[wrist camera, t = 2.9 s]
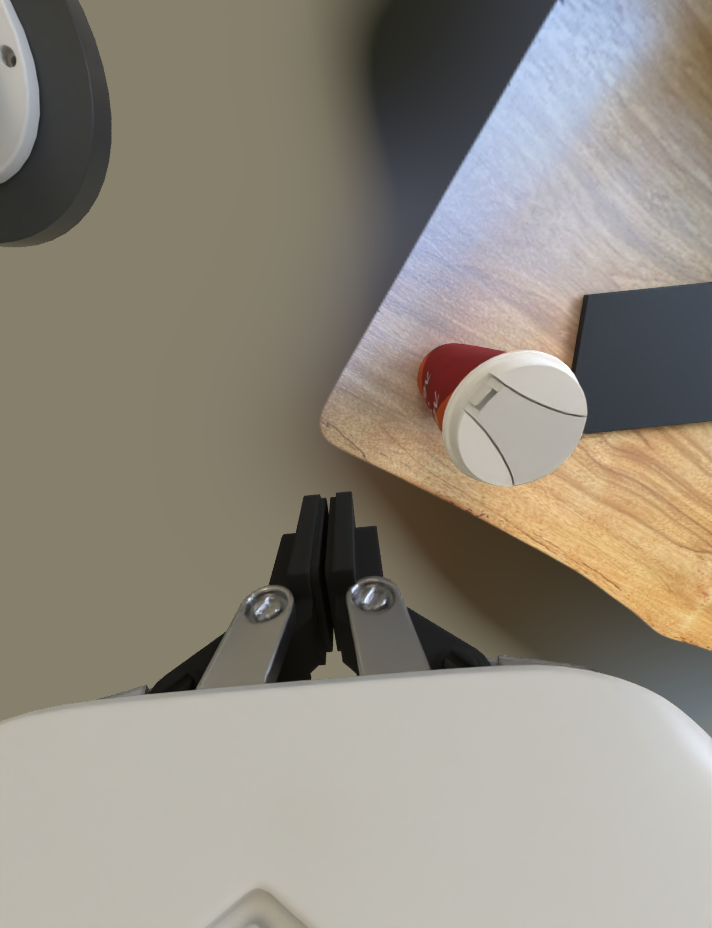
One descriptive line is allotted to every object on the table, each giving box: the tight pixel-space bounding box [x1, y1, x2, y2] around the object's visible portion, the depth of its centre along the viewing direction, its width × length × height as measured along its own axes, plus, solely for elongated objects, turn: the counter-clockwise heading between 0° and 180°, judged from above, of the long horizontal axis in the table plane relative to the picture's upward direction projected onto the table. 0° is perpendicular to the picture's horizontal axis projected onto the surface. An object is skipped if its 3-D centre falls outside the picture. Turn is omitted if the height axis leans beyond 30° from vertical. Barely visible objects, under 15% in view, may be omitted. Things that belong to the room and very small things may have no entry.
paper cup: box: [418, 343, 587, 487], centre depth 25 cm, size 8×8×14 cm
